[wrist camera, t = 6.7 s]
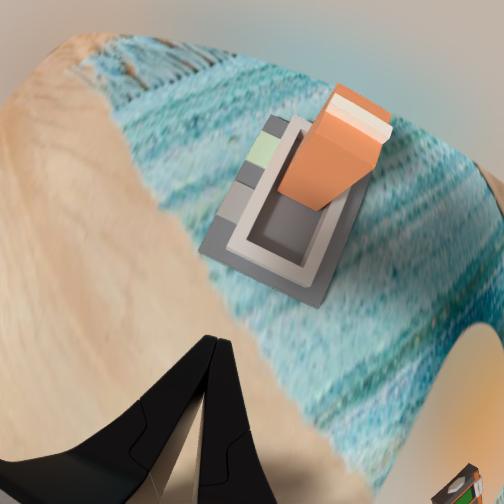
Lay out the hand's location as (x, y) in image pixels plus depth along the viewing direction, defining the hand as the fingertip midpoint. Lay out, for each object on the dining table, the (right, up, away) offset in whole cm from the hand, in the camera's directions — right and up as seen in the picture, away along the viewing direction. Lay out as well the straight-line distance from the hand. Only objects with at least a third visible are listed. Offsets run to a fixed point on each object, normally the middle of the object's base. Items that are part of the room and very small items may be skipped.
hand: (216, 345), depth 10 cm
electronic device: (+29, -31, +14) cm, 45 cm away
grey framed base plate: (+4, +7, +15) cm, 17 cm away
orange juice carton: (+5, +8, +15) cm, 18 cm away
